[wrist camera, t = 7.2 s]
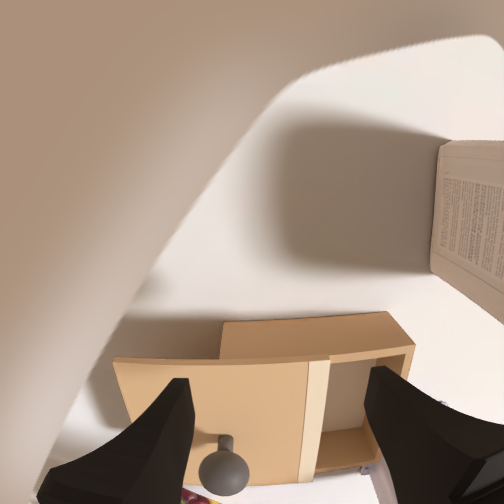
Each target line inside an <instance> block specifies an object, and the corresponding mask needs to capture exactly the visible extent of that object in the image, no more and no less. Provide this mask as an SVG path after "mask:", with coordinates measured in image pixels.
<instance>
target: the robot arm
mask: <svg viewBox="0 0 504 504" xmlns="http://www.w3.org/2000/svg"><path fill="white" fill-rule="evenodd" d="M363 405H364V408H365V412H366V416H367V419H368V422H369V425H370V428H371V430H372V432H373V434H374V437H375V439H376V441H377V443H378V446H379V448H380V450H381V452H382V454H383V455H382V458H381V461H380V462H378V463H374V464H369V465H364V466H362V468H361V471H360V473H361V475H368V474H370V477H371V480H372V483H373V486H374V489H375V492H376V494H377V497H378V500H379V503H380V504H504V425H502V424H497V423H492V422H488V421H484V420H481V419H477V418H474V417H472V416H469V415H466V414H463V413H461V412H458V411H456V410H454V409H452V408H450V407H448V404H447V403H446V402H442V403H440V402H438V401H437V400H435V399H433V398H431V397H430V396H428V395H427V394H425V393H423V392H422V391H420V390H419V389H417V388H416V387H415V386H413V385H412V384H410V383H409V382H407V381H406V380H405V379H403V378H402V377H401V376H399V375H398V374H396V373H395V372H394V371H392V370H391V369H389V368H388V367H387V366H385V365H383V366H376V367H371V370H370V375H369V380H368V385H367V390H366V395H365V399H364V404H363ZM194 427H195V410H194V404H193V399H192V394H191V388H190V382H189V378H173V379H172V380H171V381H170V382H169V383H168V385H167V386H166V387H165V388H164V390H163V391H162V392H161V393H160V394H159V396H158V397H157V398H156V399H155V400H154V401H153V402H152V404H151V405H150V406H149V407H148V408H147V409H146V410H145V411H144V412H143V413H142V414H141V415H140V416H139V417H138V418H137V419H136V420H135V421H134V422H133V423H132V424H131V425H130V426H129V427H127V428H126V429H125V430H124V431H123V432H121V433H120V434H119V435H118V436H116V437H115V438H113V439H112V440H110V441H109V442H107V443H106V444H104V445H103V446H101V447H99V448H98V449H96V450H94V451H92V452H91V453H89V454H87V455H85V456H83V457H80V458H78V459H76V460H74V461H71V462H69V463H66V464H63V465H60V466H58V467H55V468H51V469H50V470H49V472H48V474H47V475H46V477H45V479H44V481H43V483H42V485H41V487H40V489H39V491H38V493H37V496H36V497H37V499H38V502H39V503H40V504H181V495H182V486H183V480H184V476H185V471H186V467H187V463H188V458H189V454H190V450H191V445H192V441H193V436H194Z"/></svg>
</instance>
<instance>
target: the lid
mask: <svg viewBox="0 0 504 504" xmlns="http://www.w3.org/2000/svg"><path fill="white" fill-rule="evenodd" d="M330 361H331V360H330V357H329V355H328V354H319V355H307V356H293V357H276V358H254V359H153V358H132V357H115V358H114V360H113V361H112V363H113V367H114V370H115V374H116V377H117V380H118V384H119V387H120V390H121V393H122V396H123V399H124V402H125V405H126V408H127V411H128V414H129V417H130V420H131V422H132V423H133V422H134V421H135V420H136V419H137V418H138V417H139V416H140V415H141V414H142V413H143V412H144V411H145V410H146V409H147V408H148V407H149V406H150V405H151V404H152V402H153V401H154V400H155V399H156V398H157V397H158V396H159V394H160V393H161V392H162V391H163V390H164V388H165V387H166V386H167V385H168V383H169V382H170V381H171V380H172V379H173V378H189V382H190V388H191V394H192V399H193V404H194V410H195V427H194V436H193V441H192V445H191V450H190V454H189V458H188V463H187V467H186V471H185V476H184V480H183V484H186V485H203V487H204V488H205V489H206V490H208V491H209V492H211V493H213V494H215V495H218V496H231V495H234V494H237V493H239V492H240V491H242V490H243V489H244V488H245V486H263V485H280V484H293V483H306V482H313V477H314V472H315V466H316V461H317V455H318V449H319V443H320V437H321V431H322V424H323V417H324V410H325V403H326V395H327V387H328V379H329V370H330Z"/></svg>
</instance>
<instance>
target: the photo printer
mask: <svg viewBox="0 0 504 504" xmlns="http://www.w3.org/2000/svg"><path fill="white" fill-rule="evenodd" d="M430 269H431V271H432V272H433V273H434V274H435V275H436V276H438V277H439V278H441V279H442V280H444V281H445V282H447V283H448V284H450V285H451V286H452V287H454V288H455V289H457V290H458V291H459V292H461V293H462V294H464V295H465V296H466V297H468V298H469V299H470V300H472V301H473V302H474V303H476V304H477V305H478V306H480V307H481V308H482V309H484V310H485V311H486V312H488V313H489V314H490V315H492V316H493V317H494V318H496V319H497V320H498V321H499V322H501V323H502V324H503V325H504V141H490V140H459V141H450V142H447V143H446V144H444V145H441V146H440V148H439V153H438V160H437V175H436V192H435V206H434V218H433V229H432V238H431V250H430Z"/></svg>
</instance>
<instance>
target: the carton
mask: <svg viewBox="0 0 504 504" xmlns="http://www.w3.org/2000/svg"><path fill="white" fill-rule="evenodd" d="M415 346H416V344H415V343H414V342H413V340H412V339H411V338H410V337H409V336H408V335H407V333H406V332H405V331H404V330H403V329H402V328H401V326H400V325H399V324H398V323H397V322H396V321H395V320H394V318H393V317H392V316H391V315H390V314H389V313H388V312H377V313H366V314H355V315H343V316H330V317H316V318H301V319H283V320H261V321H232V322H224V324H223V331H222V339H221V347H220V355H219V359H254V358H276V357H293V356H307V355H319V354H328V355H329V357H330V360H331V361H330V370H329V379H328V387H327V395H326V403H325V410H324V417H323V424H322V431H321V437H320V443H319V449H318V455H317V461H316V466H315V472H314V473H321V472H329V471H335V470H342V469H348V468H353V467H359V466H364V465H369V464H374V463H378V462H380V461H381V458H382V455H383V454H382V452H381V450H380V448H379V446H378V443H377V441H376V439H375V437H374V434H373V432H372V430H371V428H370V425H369V422H368V419H367V416H366V412H365V408H364V405H363V404H364V399H365V395H366V390H367V385H368V380H369V375H370V370H371V367H376V366H383V365H385V366H387V367H388V368H389V369H391V370H392V371H394V372H395V373H396V374H398V375H399V376H401V377H402V378H403V379H405V380H406V381H407V378H408V374H409V371H410V367H411V363H412V358H413V354H414V350H415Z"/></svg>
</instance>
